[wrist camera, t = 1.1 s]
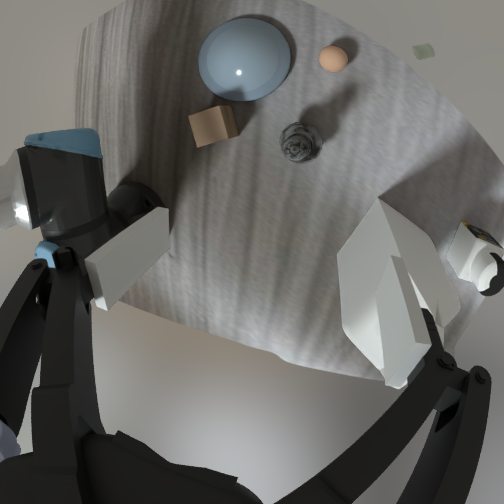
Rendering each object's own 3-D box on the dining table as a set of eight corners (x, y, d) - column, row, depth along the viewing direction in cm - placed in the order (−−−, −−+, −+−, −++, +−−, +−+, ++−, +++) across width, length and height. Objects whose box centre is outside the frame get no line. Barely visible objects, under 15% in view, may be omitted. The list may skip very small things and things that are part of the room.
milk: (387, 286, 46) (407, 413, 24) (336, 254, 46) (330, 384, 24) (429, 235, 39) (490, 351, 17) (377, 197, 39) (423, 303, 17)
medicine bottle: (488, 231, 35) (520, 266, 25) (472, 265, 39) (498, 305, 29) (460, 220, 36) (491, 254, 26) (445, 256, 40) (468, 297, 30)
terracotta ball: (317, 71, 33) (316, 67, 29) (320, 47, 31) (319, 40, 27) (345, 76, 32) (347, 72, 29) (347, 51, 30) (349, 45, 27)
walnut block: (210, 143, 42) (197, 147, 38) (202, 114, 40) (188, 116, 36) (239, 135, 41) (228, 138, 36) (231, 105, 39) (219, 105, 34)
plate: (198, 100, 39) (194, 100, 38) (205, 22, 32) (202, 20, 31) (286, 105, 36) (285, 105, 35) (294, 21, 29) (293, 19, 28)
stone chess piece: (283, 120, 38) (265, 123, 28) (323, 122, 36) (321, 125, 26) (283, 158, 41) (267, 175, 30) (322, 160, 39) (320, 178, 29)
